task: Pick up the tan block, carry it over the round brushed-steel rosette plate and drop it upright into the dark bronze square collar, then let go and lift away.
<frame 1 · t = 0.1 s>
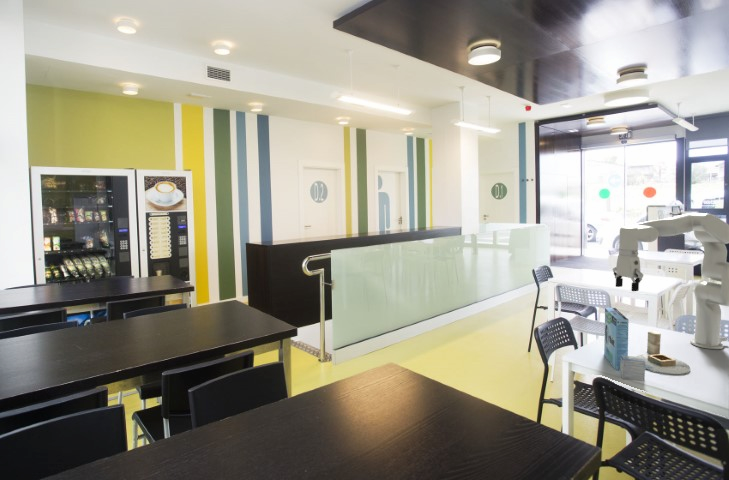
hand: (626, 288, 196), 31 cm above the table, tool pointing down, fingers open, 9 cm apart
tan block: (653, 353, 197), on the table
gum box: (614, 362, 188), on the table
medicine box: (632, 378, 171), on the table
rosette plate: (661, 365, 183), on the table
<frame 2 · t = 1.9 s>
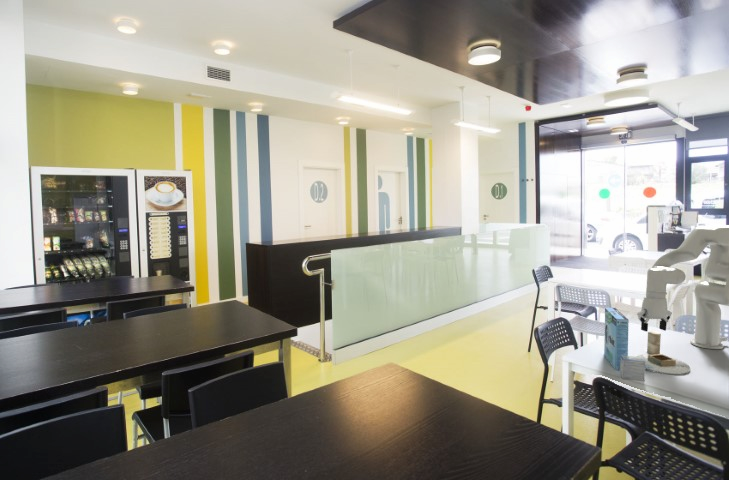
hand: (653, 330, 195), 11 cm above the table, tool pointing down, fingers open, 9 cm apart
nothing on the table moved.
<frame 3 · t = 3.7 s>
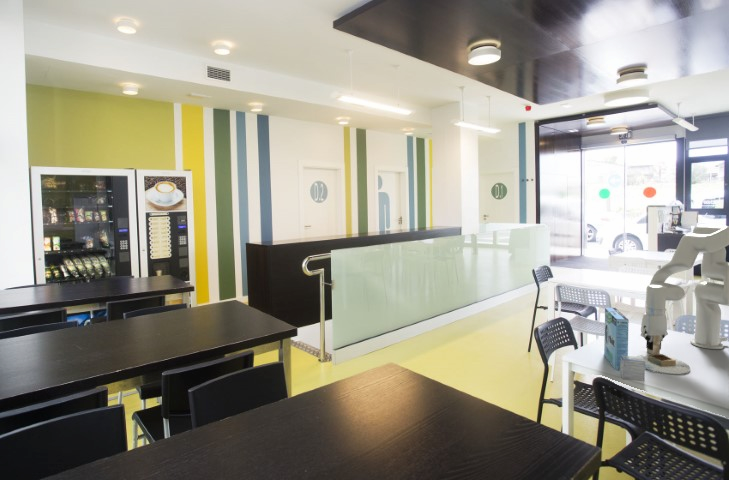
hand: (653, 348, 196), 2 cm above the table, tool pointing down, fingers closed on tan block, 3 cm apart
tan block: (653, 353, 197), on the table, touching gripper
everything else where it was.
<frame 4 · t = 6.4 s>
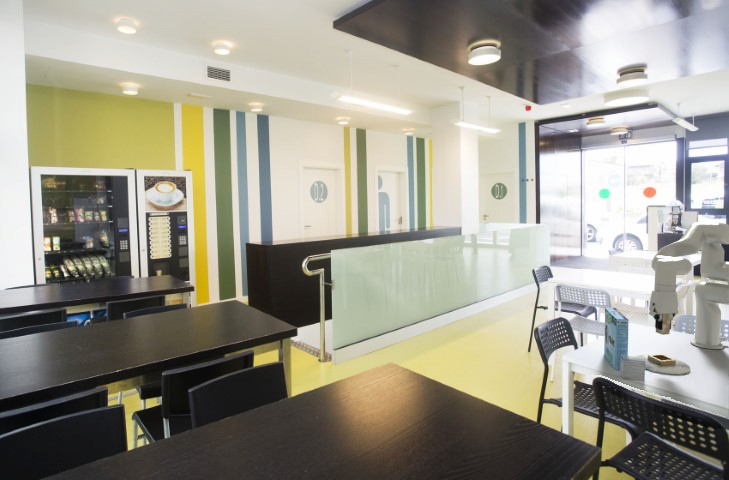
hand: (663, 328, 181), 17 cm above the table, tool pointing down, fingers closed on tan block, 3 cm apart
tan block: (662, 333, 181), point 15 cm above the table, touching gripper
everything else where it was.
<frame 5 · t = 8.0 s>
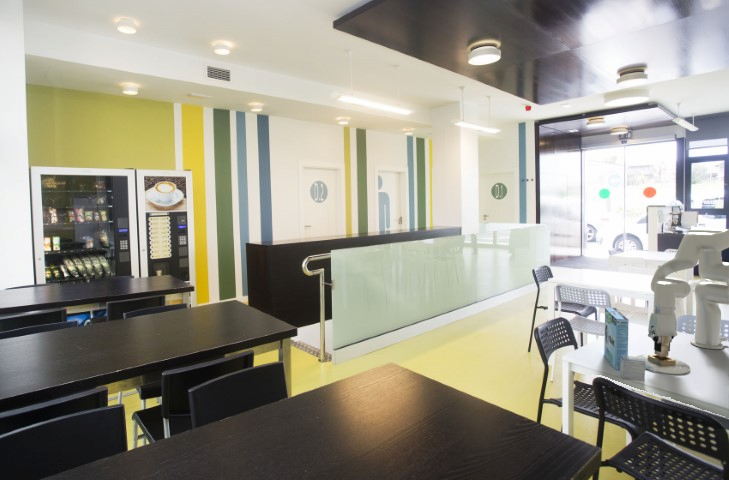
hand: (661, 350, 182), 7 cm above the table, tool pointing down, fingers closed on tan block, 3 cm apart
tan block: (661, 354, 182), point 5 cm above the table, touching gripper
everything else where it was.
when the fingers open (4 cm above the table, at t = 9.2 s): tan block drops 1 cm, resting on rosette plate.
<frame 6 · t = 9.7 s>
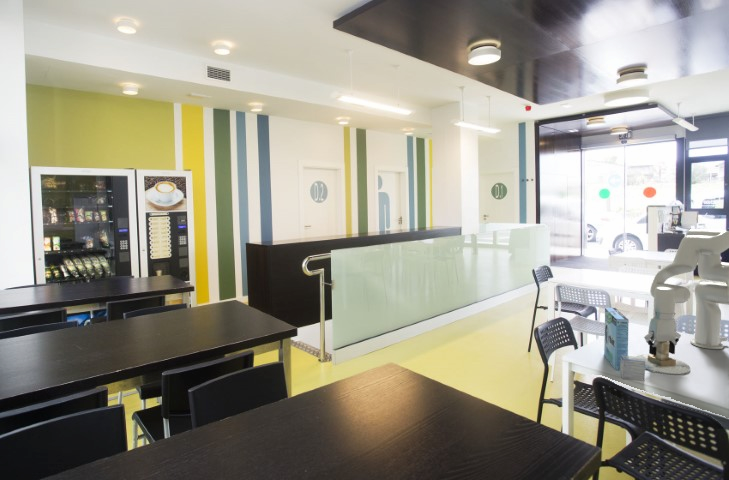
hand: (661, 353, 182), 5 cm above the table, tool pointing down, fingers open, 8 cm apart
tan block: (661, 362, 183), point 1 cm above the table, touching rosette plate
everything else where it was.
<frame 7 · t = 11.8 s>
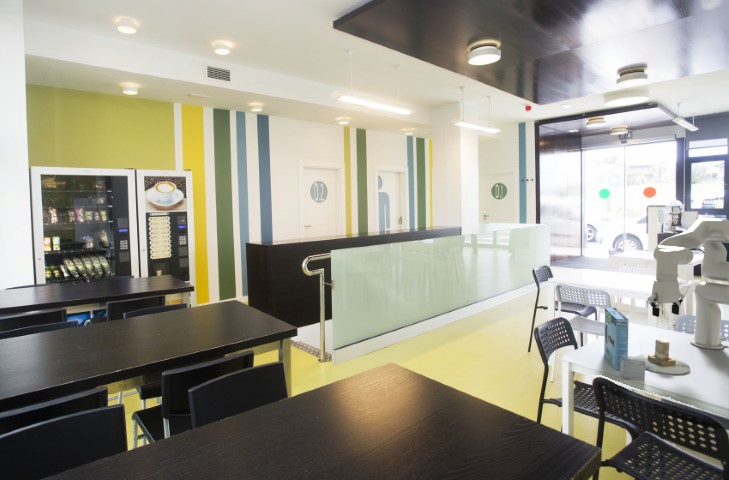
hand: (665, 315, 183), 22 cm above the table, tool pointing down, fingers open, 9 cm apart
nothing on the table moved.
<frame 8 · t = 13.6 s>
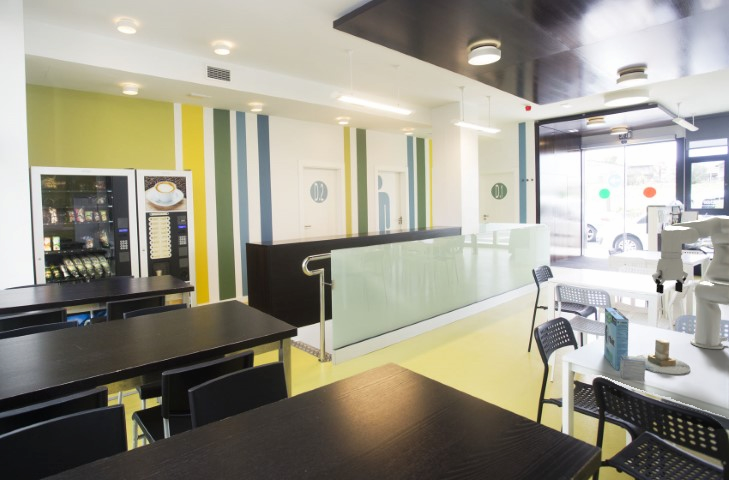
hand: (669, 292, 190), 30 cm above the table, tool pointing down, fingers open, 9 cm apart
nothing on the table moved.
at the end: tan block 0.1 cm off-centre on the rosette plate, point 1.0 cm above the rosette plate's base; tan block tilted 0°; the gripper is holding nothing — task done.
